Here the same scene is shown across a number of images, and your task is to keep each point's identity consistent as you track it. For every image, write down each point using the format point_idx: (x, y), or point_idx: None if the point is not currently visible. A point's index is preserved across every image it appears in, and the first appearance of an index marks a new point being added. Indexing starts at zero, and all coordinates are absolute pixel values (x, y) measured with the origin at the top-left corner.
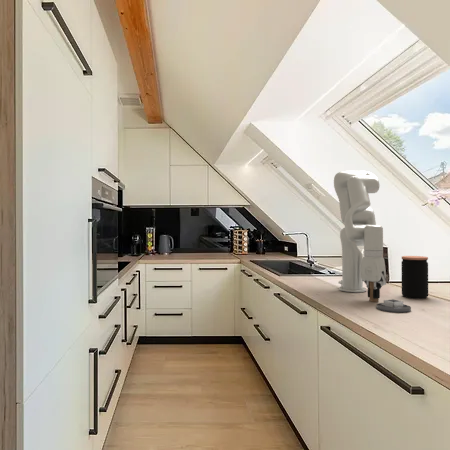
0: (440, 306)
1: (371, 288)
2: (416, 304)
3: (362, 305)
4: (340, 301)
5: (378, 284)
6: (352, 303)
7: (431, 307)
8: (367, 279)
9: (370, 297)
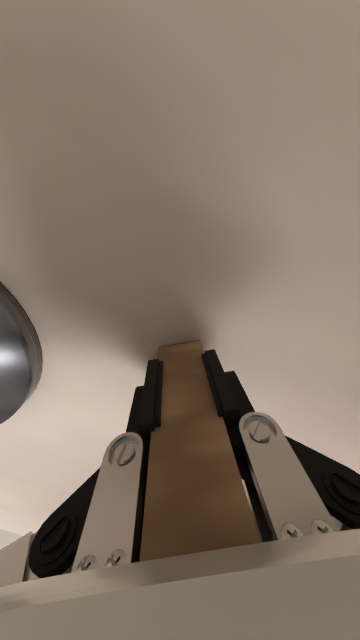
0: (30, 528)
1: (192, 425)
2: (73, 487)
3: (56, 185)
4: (282, 48)
5: (52, 539)
6: (155, 136)
7: (7, 502)
8: (255, 611)
9: (192, 356)
